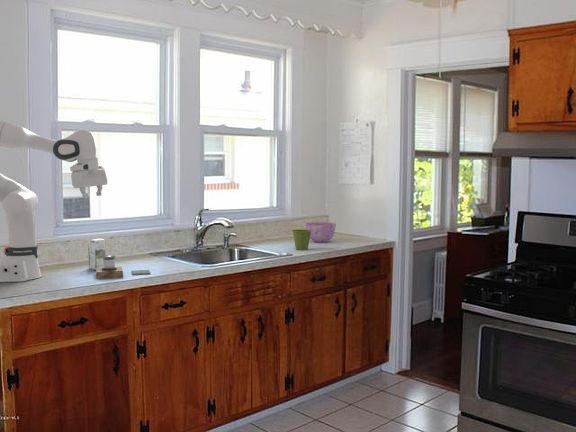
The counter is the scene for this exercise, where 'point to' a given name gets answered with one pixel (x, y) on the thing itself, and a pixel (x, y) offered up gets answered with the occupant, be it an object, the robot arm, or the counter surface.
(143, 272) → the mat
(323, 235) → the purple rounded bowl
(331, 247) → the counter surface
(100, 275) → the brown flat square block
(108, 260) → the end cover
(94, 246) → the syrup box
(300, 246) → the plant pot
